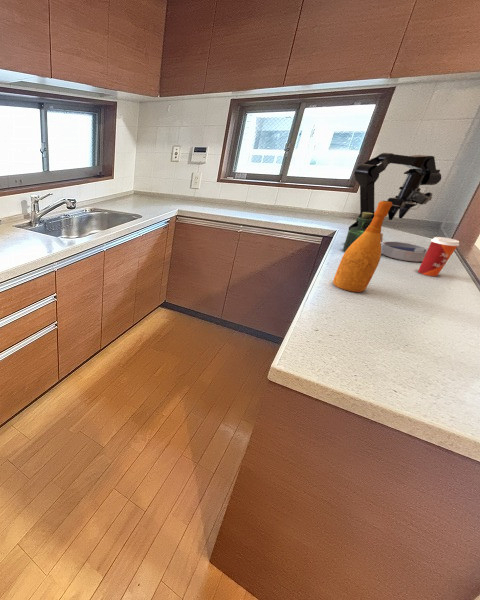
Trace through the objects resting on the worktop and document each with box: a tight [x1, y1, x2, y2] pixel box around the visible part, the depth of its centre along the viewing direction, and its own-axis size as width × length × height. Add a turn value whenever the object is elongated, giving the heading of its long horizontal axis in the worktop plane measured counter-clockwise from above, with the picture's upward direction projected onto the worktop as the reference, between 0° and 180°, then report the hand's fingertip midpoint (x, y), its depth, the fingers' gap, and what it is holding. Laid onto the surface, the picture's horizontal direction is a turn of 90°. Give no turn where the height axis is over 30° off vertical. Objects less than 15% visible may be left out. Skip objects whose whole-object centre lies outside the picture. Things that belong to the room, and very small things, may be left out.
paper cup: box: [417, 236, 460, 277], centre depth 126 cm, size 8×8×14 cm
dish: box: [381, 240, 428, 263], centre depth 146 cm, size 16×16×4 cm
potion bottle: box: [342, 212, 373, 253], centre depth 147 cm, size 8×8×18 cm
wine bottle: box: [332, 200, 392, 293], centre depth 108 cm, size 10×10×30 cm
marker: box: [390, 246, 426, 252], centre depth 145 cm, size 3×3×12 cm
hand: (395, 219), depth 156 cm, fingers open, 9 cm apart
